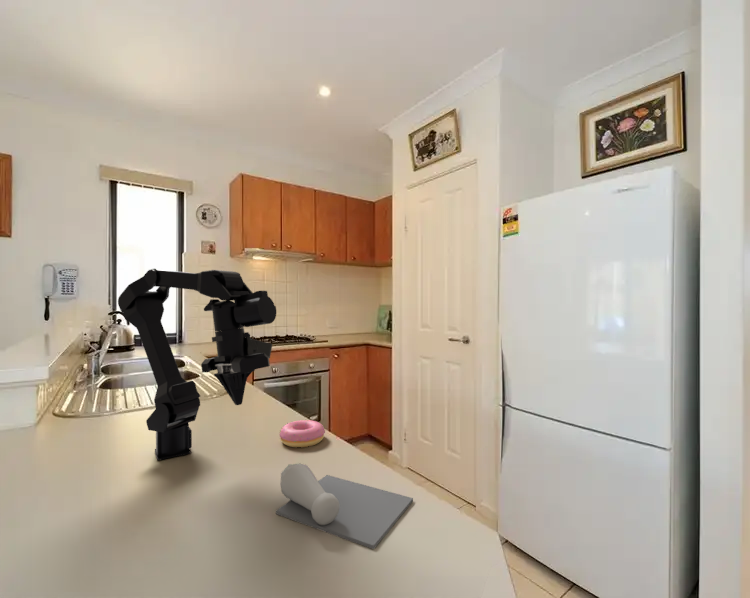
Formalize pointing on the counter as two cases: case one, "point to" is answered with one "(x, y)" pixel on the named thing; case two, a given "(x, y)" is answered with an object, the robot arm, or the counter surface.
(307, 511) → the mat
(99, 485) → the counter surface
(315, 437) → the doughnut
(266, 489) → the counter surface
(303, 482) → the salt shaker
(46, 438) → the counter surface
